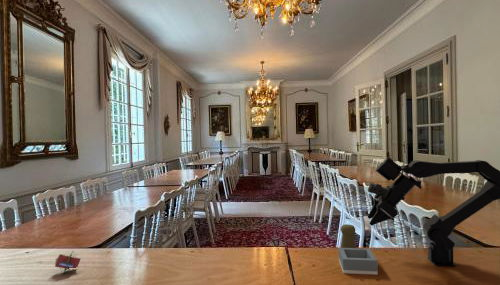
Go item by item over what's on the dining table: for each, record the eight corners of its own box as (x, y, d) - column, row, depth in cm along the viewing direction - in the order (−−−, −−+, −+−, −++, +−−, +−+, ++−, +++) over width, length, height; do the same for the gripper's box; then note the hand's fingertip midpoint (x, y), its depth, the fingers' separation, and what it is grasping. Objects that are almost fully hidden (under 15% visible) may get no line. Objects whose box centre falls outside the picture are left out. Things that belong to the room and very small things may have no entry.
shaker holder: (370, 261, 107) (369, 248, 107) (377, 274, 96) (377, 260, 96) (338, 260, 109) (338, 247, 109) (343, 273, 98) (343, 259, 98)
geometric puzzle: (87, 259, 109) (71, 243, 108) (83, 267, 103) (66, 250, 101) (69, 274, 108) (53, 258, 106) (64, 282, 101) (46, 265, 100)
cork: (359, 257, 111) (358, 227, 111) (342, 257, 111) (342, 227, 111) (354, 251, 117) (353, 222, 117) (338, 251, 117) (337, 223, 117)
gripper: (377, 171, 119) (351, 201, 122) (383, 177, 101) (351, 212, 104) (401, 190, 116) (374, 220, 119) (411, 200, 99) (378, 234, 102)
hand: (369, 221), depth 111 cm, fingers open, 9 cm apart
